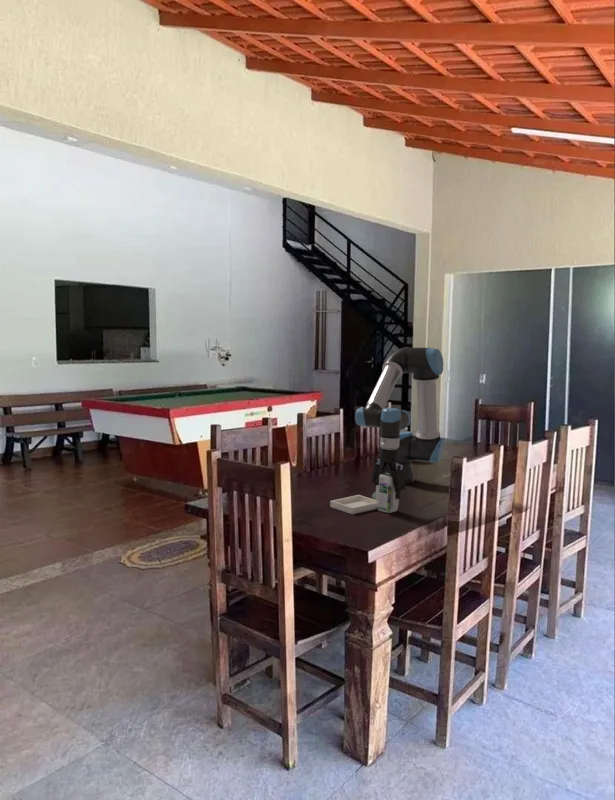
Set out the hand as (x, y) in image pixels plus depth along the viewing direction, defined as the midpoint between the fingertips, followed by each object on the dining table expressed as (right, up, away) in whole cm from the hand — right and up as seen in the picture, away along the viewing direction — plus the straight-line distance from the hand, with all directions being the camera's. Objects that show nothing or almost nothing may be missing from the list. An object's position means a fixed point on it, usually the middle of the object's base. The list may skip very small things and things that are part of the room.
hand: (386, 503), depth 248 cm
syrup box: (0, -3, 0) cm, 3 cm away
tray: (-12, -2, +4) cm, 13 cm away
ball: (-3, +1, +14) cm, 14 cm away
